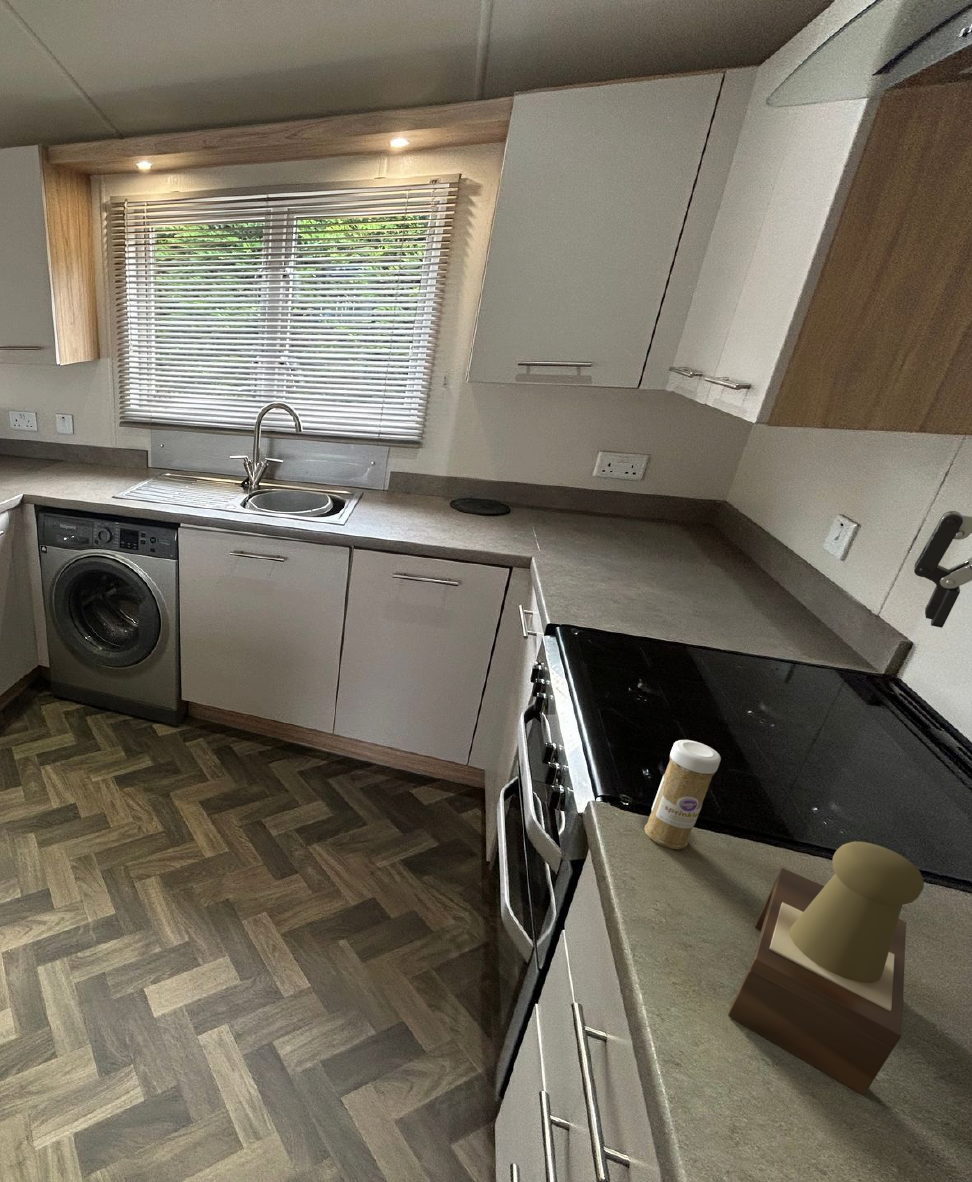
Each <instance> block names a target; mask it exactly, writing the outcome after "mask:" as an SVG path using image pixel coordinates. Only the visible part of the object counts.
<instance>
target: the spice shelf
mask: <svg viewBox="0 0 972 1182" xmlns="http://www.w3.org/2000/svg"><path fill="white" fill-rule="evenodd" d="M824 886H825V885H822V884H820V883H817V882H816V881H813V880H811V879H808V878H806V877H804V876H802V875H800V874H798V873H795V872H793V871H790V870H788V869H786V868H784V867H781V868H780V870H779V872H778V873H777V876H776V879H775V880H774V882H773V885H772V887H771V889H770V891H769V894H768V896H767V897H766V900H765V901H764V904H763V905H762V908H761V910H760V913H759V914H758V916H757V919H756V922H755V925H754V928H755V929H756V930H758V931H760V932H759V933H760V934H759V938H758V940H757V944H756V947H755V950H754V954H753V957H752V961H751V963H750V965H749V967H748V969H747V971H746V973H745V975H744V977H743V980H742V982H741V983H740V986H739V988H738V990H737V991H736V994H735V997H734V998H733V1001H732V1003H731V1004H730V1008H729V1011H728V1015H727V1016H728V1018H730V1019H732V1020H734V1021H735V1022H737V1023H739V1024H740V1025H742V1026H744V1027H745V1028H747V1029H749V1030H750V1031H752V1032H754V1033H755V1034H757V1035H759V1036H761V1037H763V1038H764V1039H766V1040H768V1041H769V1042H770V1043H773V1044H774V1045H776V1046H778V1047H779V1048H781V1049H783V1050H785V1051H786V1052H788V1053H790V1054H791V1055H793V1056H794V1057H796V1058H798V1059H800V1060H801V1061H804V1062H805V1063H807V1064H808V1065H810V1066H812V1067H814V1068H815V1069H817V1070H818V1071H820V1072H822V1073H823V1074H826V1075H827V1076H829V1077H831V1078H832V1079H834V1080H835V1081H837V1082H839V1083H841V1084H842V1085H844V1086H846V1087H847V1088H850V1089H851V1090H853V1091H854V1092H856V1093H858V1094H860V1095H861V1096H865V1094H866V1093H867V1091H868V1090H869V1088H870V1087H871V1086H872V1083H873V1082H874V1081H875V1079H876V1078H877V1075H878V1074H879V1072H880V1071H881V1069H882V1068H883V1066H884V1065H885V1063H886V1062H887V1060H888V1059H889V1056H890V1055H891V1054H892V1052H893V1051H894V1048H896V1046H897V1045H898V1043H899V1041H900V1039H901V1038H902V1037H903V1036H902V1035H903V1016H904V1015H903V1012H904V1011H903V1010H904V991H905V990H904V989H905V988H904V986H905V965H906V964H905V963H906V962H905V961H906V938H907V937H906V936H907V935H906V934H907V922H906V921H904V920H902V919H900V918H899V919H898V922H897V925H896V929H895V932H894V936H893V939H892V943H891V946H890V950H889V953H888V957H887V960H886V964H885V967H884V970H883V974H882V976H881V978H880V980H879V981H876V982H872V983H865V982H857V981H853V980H850V979H846V978H844V977H841V976H839V975H837V974H834V973H832V972H830V971H828V970H826V969H825V968H823V967H821V966H820V965H818V964H816V963H815V962H814V961H812V960H811V959H810V958H808V957H807V956H806V955H804V954H803V953H802V952H801V951H800V949H799V948H798V947H797V946H796V945H795V944H794V942H793V941H792V939H791V937H790V931H789V929H790V928H791V927H792V925H793V924H794V923H795V922H796V921H797V919H798V918H799V917H800V916H801V914H802V913H803V912H804V911H805V910H806V908H807V907H808V906H809V905H810V904H811V902H812V901H813V900H814V899H815V897H816V896H817V895H818V894H819V893H820V891H821V890H822V889H823V888H824Z"/></svg>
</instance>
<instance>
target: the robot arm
mask: <svg viewBox="0 0 972 1182" xmlns="http://www.w3.org/2000/svg"><path fill="white" fill-rule="evenodd" d="M971 534H972V516H971V515H963V514H962V513H960V512H959V511H956V510H950V511H946V512H944V513H943V514H942V515H941V517H940V519H939V520H938V522H937V523H936V525H935V527H934V530H933V531H932V533H931V535H930V537H929V538H928V540H927V541H926V543H925V545H924V547H923V549H922V551H921V552H920V554H919V556H918V558H917V559H916V561H915V563H914V569H913V570H914V572H913V573H914V574H915V575H916V576H918V577H920V578H924V579H927V580H929V581H931V582H933V583H934V584H935V587H934V590H933V592H932V593H931V596H930V598H929V600H928V602H927V604H926V606H925V608H924V614H925V619H928V620H930V626H931V627H936V628H940V629H942V628H943V627H944V625H945V624H946V622H947V619H948V618H949V615H950V614H951V612H952V609H953V607H954V606H955V605H956V604H955V603H956V601H957V599H958V597H959V596H960V593H961V588H960V586H962V585H965V584H968V583H969V582H972V556H971V557H970V558H968V559H966V560H965V561H962V562H960V563H959V564H956V565H954V566H952V567H950V568H947V567H944V566H943V565H939V564H940V563H941V561H942V559H943V558H944V555H946V552H947V551H948V549H949V547H950V545H951V544H952V542H953V541H954V540H957V541H958V540H959V541H961V540H964V539H966V538H968V537H969V536H970V535H971Z"/></svg>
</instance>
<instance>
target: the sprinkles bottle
mask: <svg viewBox="0 0 972 1182" xmlns="http://www.w3.org/2000/svg"><path fill="white" fill-rule="evenodd" d="M672 745H673V746H672V747H671V750H670V754H669V762H668V764H667V766H666V769H665V771H664V774H663V775H662V778H661V781H660V784H659V787H658V790H657V791H656V792H657V793H656V795H655V798H654V800H653V803H652V806H651V812H650V814H649V818H648V820H647V823H646V824H645V825H644V832H645V835H647V837H648V838H649V839H651V841H653V842H655V843H657V844H658V845H660V846H662V847H666V848H668V849H671V850H673V849H674V850H683V849H685V848H686V847H687V846H688V844H689V838H690V836H691V833H692V830H693V829H694V827H695V825H696V822H697V820H698V817H699V814H700V812H701V810H702V807H703V803H704V800H705V798H706V795H707V792H708V790H709V786H710V784H711V781H712V778H713V776H715V773H716V772H717V771H718V769H719V766H720V763H721V760H722V758H721V755H720V753H718V751H716V749H713V747H711V746H708V745H706V744H704V743H702V742H698V741H695V740H690V739H678V740H676V741H675V742H673V744H672Z"/></svg>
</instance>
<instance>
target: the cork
mask: <svg viewBox="0 0 972 1182" xmlns="http://www.w3.org/2000/svg"><path fill="white" fill-rule="evenodd" d="M832 869H833V871H834V874H833V876H832V877H830V879H829V880H828V881H827V882H826V884H825V885H823V886H824V888H823V889H822V890H821V891H820V893H819V894H818V895H817V896H816V897H815V899H814V900H813V901H812V902H811V904H810V905H809V906H808V907H807V908H806V910H805V911H804V912H803V913H802V914H801V916H800V917H799V918H798V919H797V921H796V922H795V923H794V924H793V925H792V927H791V928H790V929H789V931H790V937H791V939H792V941H793V942H794V944H795V945H796V946H797V947H798V948H799V949H800V951H801V952H802V953H803V954H804V955H806V956H807V957H808V958H810V959H811V960H812V961H814V962H815V963H816V964H818V965H820V966H821V967H823V968H825V969H826V970H828V971H830V972H832V973H834V974H837V975H839V976H841V977H844V978H846V979H850V980H853V981H857V982H865V983H872V982H876V981H879V980H880V978H881V976H882V974H883V970H884V967H885V964H886V960H887V957H888V953H889V950H890V946H891V943H892V939H893V936H894V932H895V929H896V925H897V922H898V919H900V915H901V911H902V909H903V906H904V905H907V904H911V903H913V902H915V901H916V900H918V898H919V897H920V895H921V894H922V892H923V890H924V886H925V882H924V879H923V876H922V874H921V871H920V869H918V867H917V866H916V865H915V864H913V863H912V862H911V861H909V860H908V859H907V858H905V857H904V856H902V855H900V854H899V853H897V852H896V851H893V850H891V849H889V848H887V847H884V846H882V845H878V844H874V843H870V842H865V841H855V840H854V841H850V842H847V843H844V844H842V845H841V846H839V847H838V848H837V849H836V851H835V852H834V854H833V856H832Z"/></svg>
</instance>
